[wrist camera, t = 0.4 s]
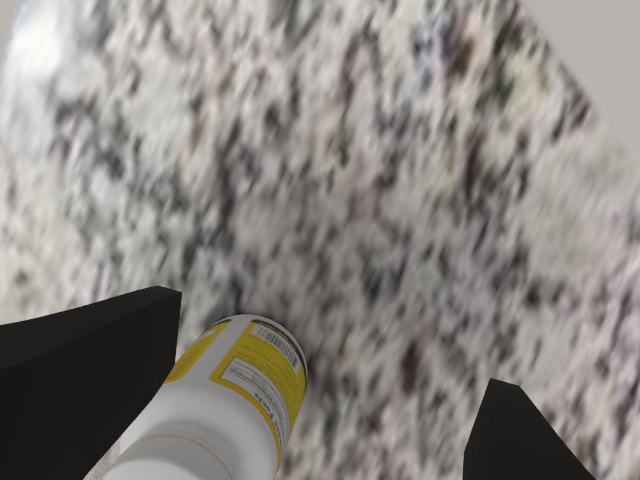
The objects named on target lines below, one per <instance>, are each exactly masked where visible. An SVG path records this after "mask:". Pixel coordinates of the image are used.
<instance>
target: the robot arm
mask: <svg viewBox="0 0 640 480" xmlns="http://www.w3.org/2000/svg"><path fill="white" fill-rule="evenodd" d="M181 298H182V292H179V291H176V290H172V289H168V288H165V287H161V286H154V287H149V288H145V289H141V290H137V291H133V292H130V293H126V294H123V295H120V296H116V297H113V298H109V299H106V300H102V301H99V302H96V303H92V304H89V305H85V306H82V307H78V308H74V309H70V310H66V311H62V312H58V313H54V314H50V315H47V316H43V317H39V318H34V319H30V320H25V321H20V322H15V323H10V324H4V325H0V480H83V479H84V477H85V476H86V475H87V474H88V473H89V471H90V470H91V469H92V468H93V467H94V466H95V465H96V463H97V462H98V461H99V460H100V459H101V458H102V457H103V455H104V454H105V453H106V452H107V451H108V450H109V449H110V448H111V446H112V445H113V444H114V443H115V442H116V441H117V440H118V438H119V437H120V436H121V435H122V434H123V433H124V432H125V431H126V429H127V428H128V427H129V426H130V425H131V424H132V423H133V421H134V420H135V419H136V418H137V417H138V416H139V415H140V413H141V412H142V411H143V410H144V409H145V408H146V406H147V405H148V404H149V403H150V402H151V401H152V399H153V398H154V396H155V395H156V394H157V392H158V391H159V389H160V388H161V386H162V385H163V383H164V382H165V380H166V378H167V377H168V375H169V374H170V372H171V370H172V369H173V367H174V366H175V356H176V347H177V337H178V327H179V317H180V308H181ZM463 480H596V479H595V478H594V477H593V476H592V475H591V474H590V473H589V472H588V471H587V469H586V468H585V467H584V466H583V465H582V464H581V463H580V461H579V460H578V459H577V458H576V457H575V455H574V454H573V453H572V452H571V451H570V449H569V448H568V447H567V446H566V445H565V443H564V442H563V441H562V440H561V438H560V437H559V436H558V435H557V433H556V432H555V431H554V430H553V428H552V427H551V426H550V424H549V423H548V422H547V421H546V419H545V418H544V417H543V415H542V414H541V413H540V411H539V410H538V409H537V408H536V406H535V405H534V404H533V402H532V401H531V400H530V399H529V397H528V396H527V395H526V394H525V392H524V391H523V390H522V389H521V388H520V387H519V386H517V385H514V384H510V383H507V382H503V381H499V380H496V379H492V378H490V380H489V383H488V386H487V389H486V391H485V394H484V397H483V400H482V403H481V406H480V408H479V411H478V414H477V417H476V420H475V423H474V425H473V428H472V431H471V434H470V437H469V440H468V442H467V445H466V448H465V451H464V461H463Z"/></svg>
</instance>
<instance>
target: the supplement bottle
mask: <svg viewBox="0 0 640 480" xmlns="http://www.w3.org/2000/svg"><path fill="white" fill-rule="evenodd" d="M307 378H308V372H307V364H306V359H305V356H304V353H303V351H302V349H301V347H300V345H299V344H298V342H297V341H296V339H295V338H294V337H293V336H292V335H291V334H290V333H289V332H288V331H287V330H286V329H285V328H284V327H282V326H281V325H280V324H278V323H276V322H275V321H272V320H270V319H268V318H265V317H261V316H257V315H249V314H242V315H234V316H230V317H227V318H224V319H222V320H220V321H218V322H216V323H215V324H213V325H212V326H211V327H209V328H208V329H207V330H206V331H205V332H204V333H203V334H202V335H201V336H200V337H199V338H198V339H197V340H196V341H195V342H194V343H193V345H192V346H191V347H190V348H189V349H188V350H187V351H186V352H185V353H184V354H183V355H182V356H181V357H180V358H179V359H178V360H177V362H176V363H175V366H174V367H173V369H172V370H171V372H170V374H169V375H168V377H167V378H166V380H165V382H164V383H163V385H162V386H161V388H160V389H159V391H158V392H157V394H156V395H155V396H154V398H153V399H152V401H151V402H150V403H149V404H148V405H147V406H146V408H145V409H144V410H143V411H142V412H141V413H140V415H139V416H138V417H137V418H136V419H135V420H134V421H133V423H132V424H131V425H130V426H129V427H128V428H127V429H126V431H125V432H124V433H123V434H122V435H121V438H120V447H119V457H118V459H117V460H116V462H115V463H114V464H113V466H112V467H111V468H110V469H109V470H108V472H107V473H106V474H105V475H104V477H103V478H102V480H275V477H276V474H277V471H278V469H279V466H280V463H281V460H282V457H283V454H284V451H285V448H286V446H287V443H288V440H289V437H290V434H291V432H292V429H293V426H294V423H295V420H296V417H297V415H298V412H299V409H300V406H301V403H302V400H303V397H304V394H305V390H306V386H307Z"/></svg>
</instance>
